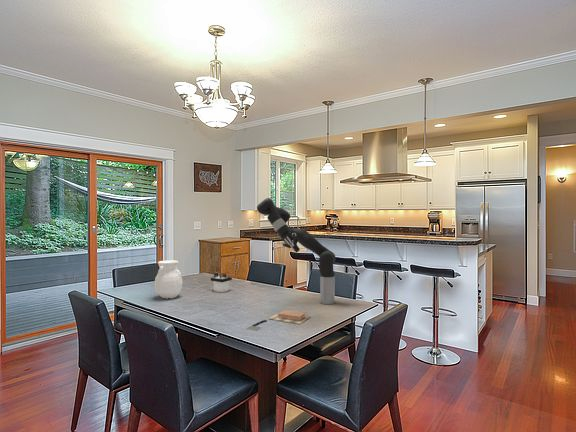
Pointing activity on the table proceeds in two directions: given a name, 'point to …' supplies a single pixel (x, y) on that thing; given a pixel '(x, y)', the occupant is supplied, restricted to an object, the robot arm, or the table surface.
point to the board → (288, 319)
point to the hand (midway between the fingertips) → (298, 251)
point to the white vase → (168, 279)
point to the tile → (291, 315)
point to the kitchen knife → (254, 327)
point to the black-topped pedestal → (221, 282)
